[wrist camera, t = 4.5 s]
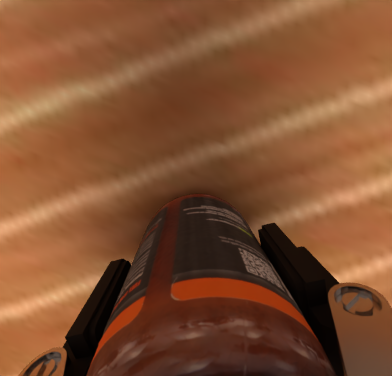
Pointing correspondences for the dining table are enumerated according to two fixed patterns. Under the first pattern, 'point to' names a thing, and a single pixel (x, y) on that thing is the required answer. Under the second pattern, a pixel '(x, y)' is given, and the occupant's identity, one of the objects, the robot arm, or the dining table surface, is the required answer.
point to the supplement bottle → (205, 303)
